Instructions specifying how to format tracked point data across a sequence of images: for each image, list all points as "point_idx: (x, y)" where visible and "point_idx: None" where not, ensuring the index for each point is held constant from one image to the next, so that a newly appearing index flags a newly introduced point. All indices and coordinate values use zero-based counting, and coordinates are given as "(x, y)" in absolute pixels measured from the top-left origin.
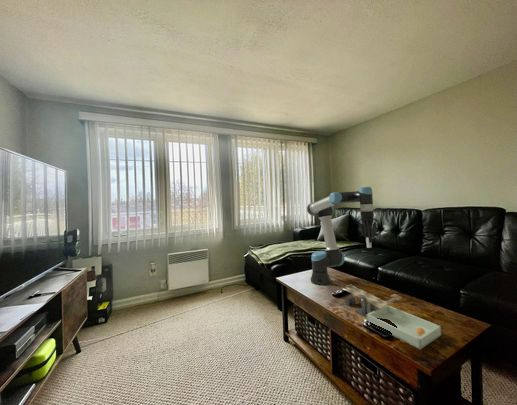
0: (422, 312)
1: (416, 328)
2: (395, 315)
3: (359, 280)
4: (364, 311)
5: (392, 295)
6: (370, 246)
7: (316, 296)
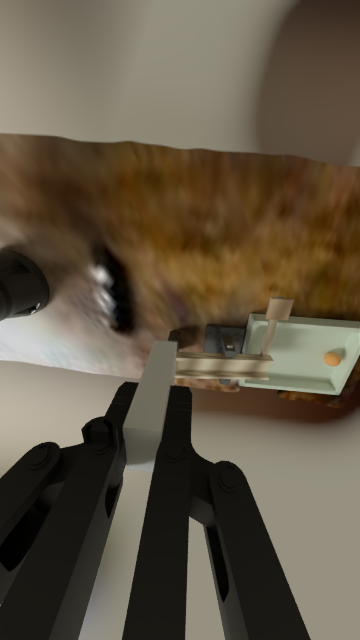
0: (314, 245)
1: (318, 339)
2: None
3: (59, 148)
4: None
5: (270, 313)
6: (175, 362)
7: (102, 362)
